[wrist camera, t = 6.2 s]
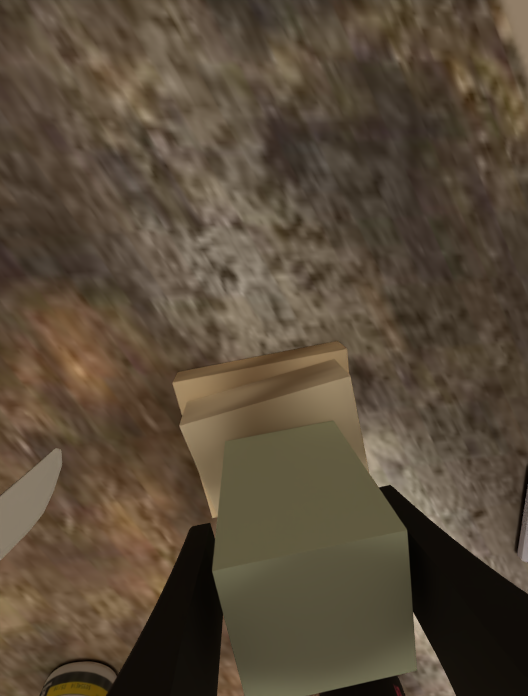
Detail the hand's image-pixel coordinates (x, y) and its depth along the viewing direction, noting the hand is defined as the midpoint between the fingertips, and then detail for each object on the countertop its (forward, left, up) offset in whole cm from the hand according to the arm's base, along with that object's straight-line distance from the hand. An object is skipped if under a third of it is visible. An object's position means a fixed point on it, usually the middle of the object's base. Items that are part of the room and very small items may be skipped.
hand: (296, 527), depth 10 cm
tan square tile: (0, 0, -5) cm, 5 cm away
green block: (0, 0, -3) cm, 3 cm away
